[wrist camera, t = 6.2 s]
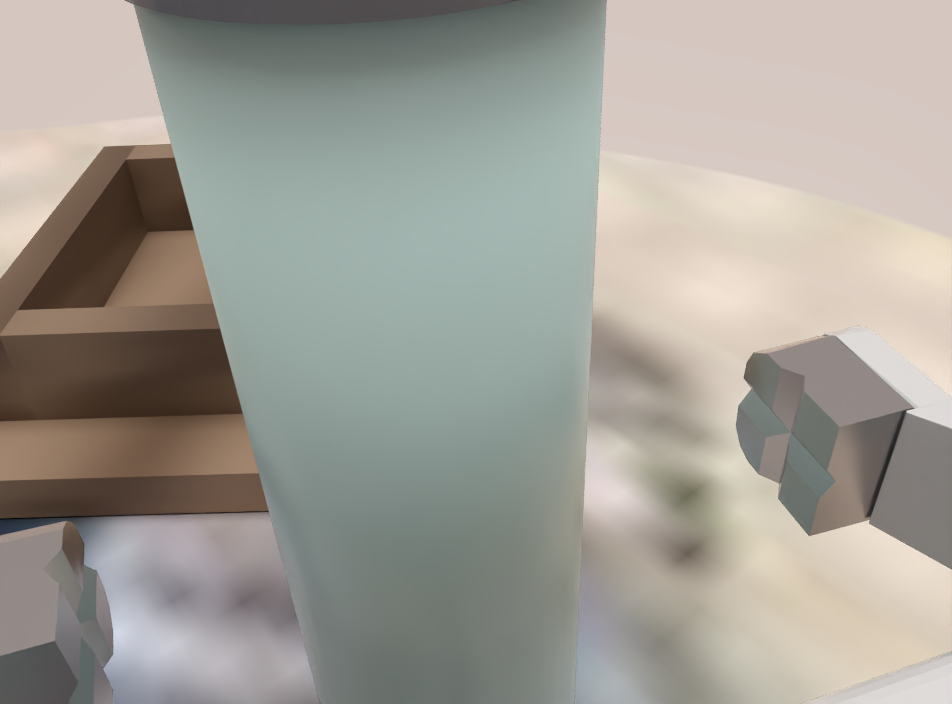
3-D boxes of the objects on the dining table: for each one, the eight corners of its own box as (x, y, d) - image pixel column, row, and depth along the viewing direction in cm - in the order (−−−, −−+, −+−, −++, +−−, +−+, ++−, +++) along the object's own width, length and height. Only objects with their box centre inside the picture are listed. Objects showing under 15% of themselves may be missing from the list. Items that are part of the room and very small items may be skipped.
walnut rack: (-108, 521, 20) (-188, 398, 18) (98, 222, 32) (64, 123, 29) (500, 504, 20) (496, 376, 18) (492, 207, 31) (489, 106, 29)
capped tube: (299, 852, 14) (-85, -224, 5) (337, 604, 18) (146, -268, 9) (598, 846, 14) (700, -264, 5) (572, 598, 18) (607, -290, 9)
